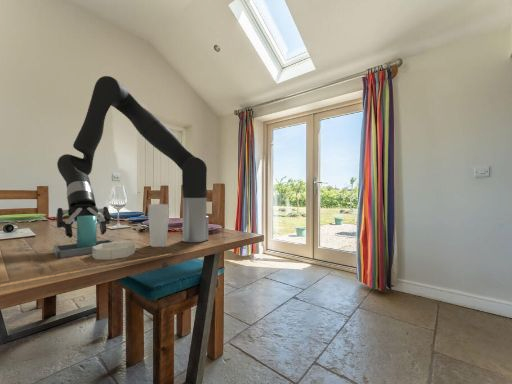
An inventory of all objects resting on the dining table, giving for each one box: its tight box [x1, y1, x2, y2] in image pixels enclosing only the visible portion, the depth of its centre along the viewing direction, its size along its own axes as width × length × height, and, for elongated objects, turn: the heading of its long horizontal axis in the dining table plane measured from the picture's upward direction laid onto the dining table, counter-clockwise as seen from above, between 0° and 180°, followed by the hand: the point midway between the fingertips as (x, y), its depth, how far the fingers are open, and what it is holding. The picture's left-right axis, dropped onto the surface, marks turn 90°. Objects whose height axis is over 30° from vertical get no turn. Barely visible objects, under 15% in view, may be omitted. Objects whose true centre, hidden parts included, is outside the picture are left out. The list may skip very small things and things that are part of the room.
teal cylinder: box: [76, 215, 98, 249], centre depth 77 cm, size 5×5×11 cm
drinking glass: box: [147, 203, 170, 248], centre depth 86 cm, size 7×7×15 cm
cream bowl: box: [91, 241, 136, 260], centre depth 73 cm, size 10×10×3 cm
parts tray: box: [53, 239, 115, 259], centre depth 77 cm, size 15×9×2 cm, turn 135°
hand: (87, 234), depth 76 cm, fingers open, 8 cm apart
